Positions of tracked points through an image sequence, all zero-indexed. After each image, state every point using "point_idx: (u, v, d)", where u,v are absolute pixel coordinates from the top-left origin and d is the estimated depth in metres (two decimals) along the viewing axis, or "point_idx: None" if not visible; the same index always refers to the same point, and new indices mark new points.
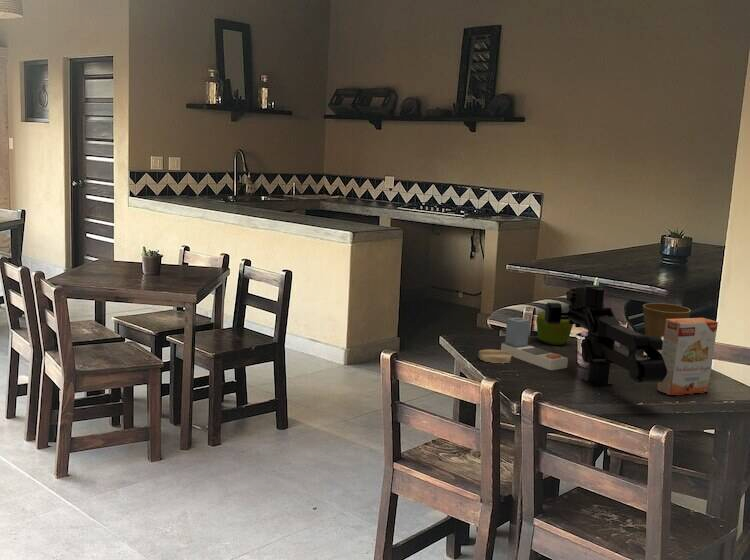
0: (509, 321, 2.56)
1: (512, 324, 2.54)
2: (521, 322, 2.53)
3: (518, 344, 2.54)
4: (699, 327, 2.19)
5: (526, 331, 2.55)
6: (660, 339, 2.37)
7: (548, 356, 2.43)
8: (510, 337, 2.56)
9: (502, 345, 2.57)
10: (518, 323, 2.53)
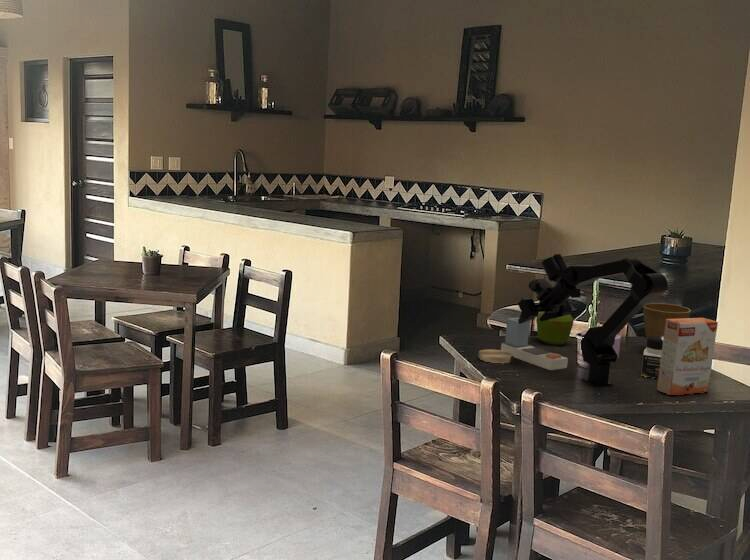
0: (509, 321, 2.56)
1: (512, 324, 2.54)
2: None
3: (518, 344, 2.54)
4: (699, 327, 2.19)
5: (526, 331, 2.55)
6: (660, 339, 2.37)
7: (548, 356, 2.43)
8: (510, 337, 2.56)
9: (502, 345, 2.57)
10: (518, 323, 2.53)
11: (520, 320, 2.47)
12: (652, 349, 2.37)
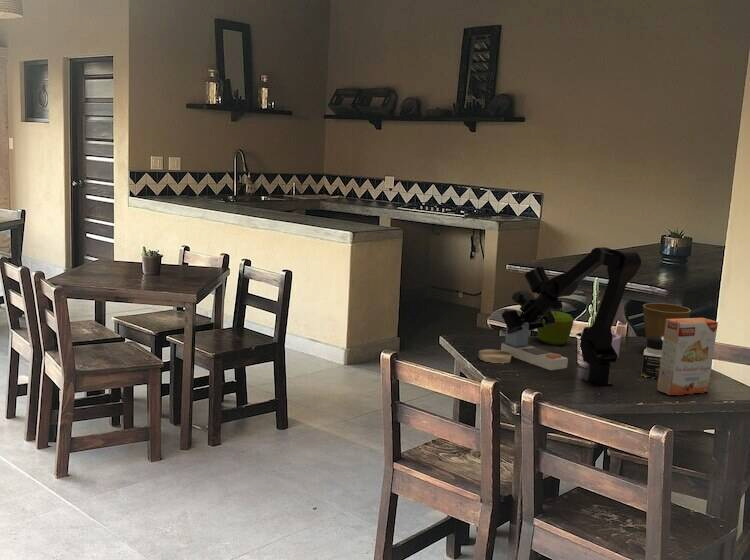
0: None
1: None
2: None
3: (518, 344, 2.54)
4: (699, 327, 2.19)
5: (526, 331, 2.55)
6: (660, 339, 2.37)
7: (548, 356, 2.43)
8: (510, 337, 2.56)
9: (502, 345, 2.57)
10: None
11: (509, 330, 2.55)
12: (652, 349, 2.37)
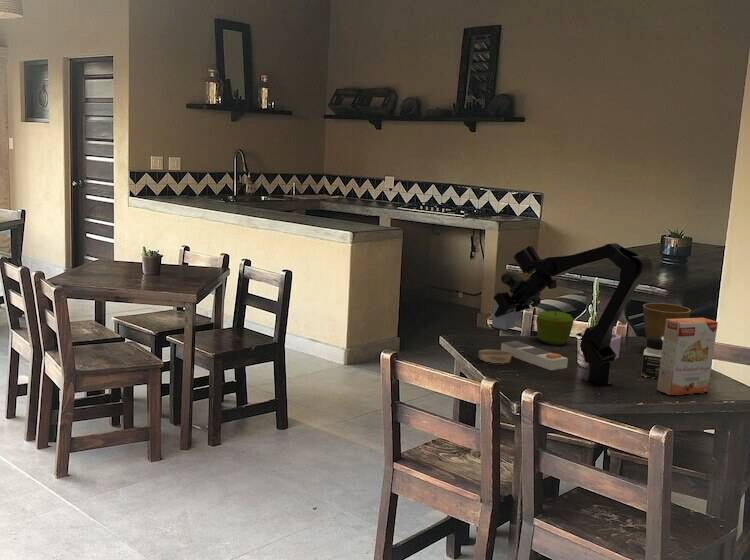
0: (496, 304, 2.48)
1: None
2: None
3: (507, 327, 2.48)
4: (699, 327, 2.19)
5: (513, 313, 2.49)
6: (660, 339, 2.37)
7: (548, 356, 2.43)
8: (498, 320, 2.48)
9: (502, 345, 2.57)
10: None
11: (497, 313, 2.47)
12: (652, 349, 2.37)
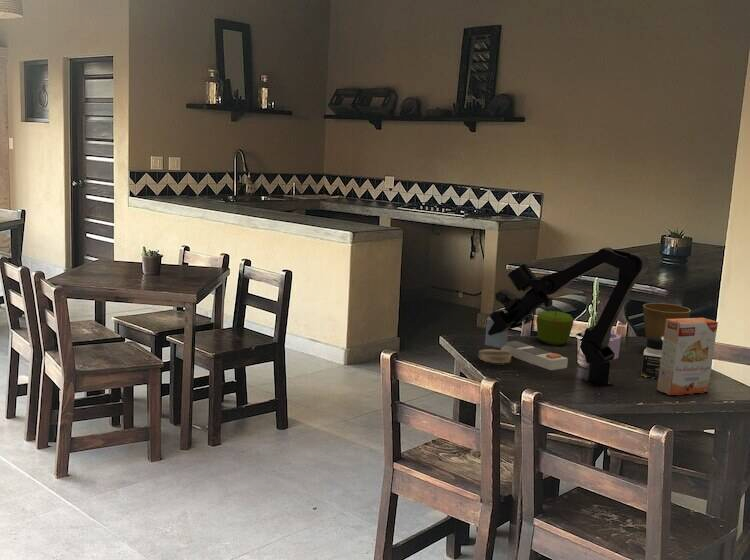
0: (490, 322, 2.45)
1: None
2: None
3: (501, 345, 2.45)
4: (699, 327, 2.19)
5: (506, 331, 2.47)
6: (660, 339, 2.37)
7: (548, 356, 2.43)
8: (492, 338, 2.46)
9: None
10: None
11: (491, 332, 2.45)
12: (652, 349, 2.37)
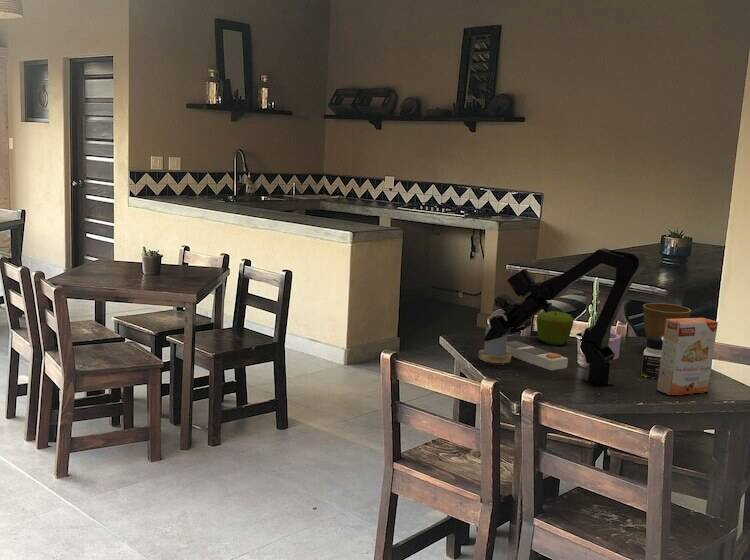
0: None
1: None
2: None
3: (500, 354, 2.46)
4: (699, 327, 2.19)
5: (505, 340, 2.47)
6: (660, 339, 2.37)
7: (548, 356, 2.43)
8: (491, 347, 2.46)
9: None
10: None
11: (487, 338, 2.43)
12: (652, 349, 2.37)
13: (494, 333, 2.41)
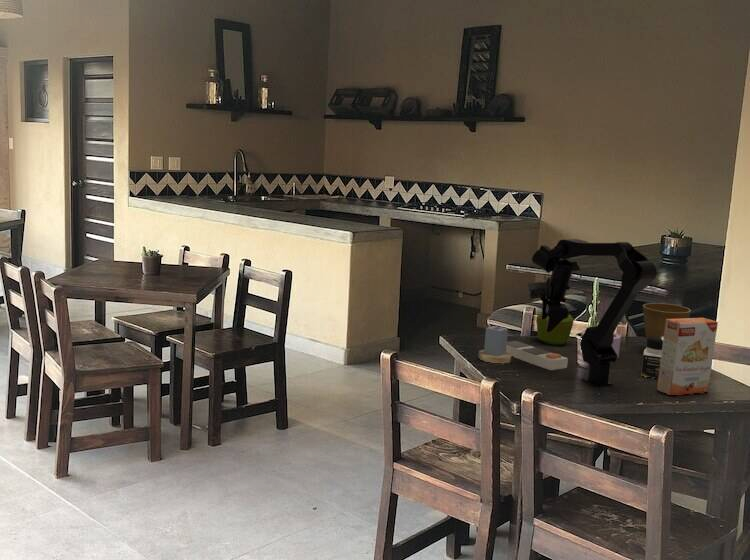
0: (489, 331, 2.46)
1: (493, 334, 2.45)
2: (502, 331, 2.45)
3: (500, 354, 2.46)
4: (699, 327, 2.19)
5: (505, 340, 2.47)
6: (660, 339, 2.37)
7: (548, 356, 2.43)
8: (491, 347, 2.46)
9: None
10: (500, 332, 2.44)
11: (550, 328, 2.39)
12: (652, 349, 2.37)
13: (554, 319, 2.38)
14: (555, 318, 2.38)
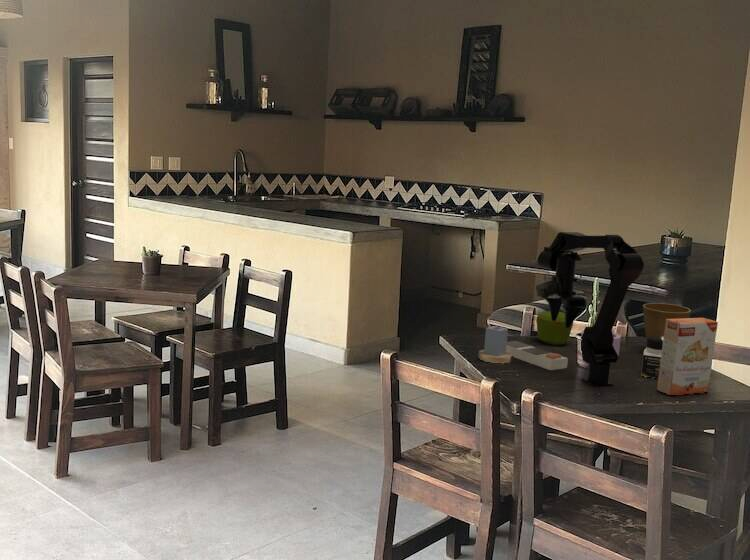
0: (489, 331, 2.46)
1: (493, 334, 2.45)
2: (502, 331, 2.45)
3: (500, 354, 2.46)
4: (699, 327, 2.19)
5: (505, 340, 2.47)
6: (660, 339, 2.37)
7: (548, 356, 2.43)
8: (491, 347, 2.46)
9: None
10: (500, 332, 2.44)
11: (569, 323, 2.39)
12: (652, 349, 2.37)
13: (572, 313, 2.38)
14: (572, 311, 2.38)
